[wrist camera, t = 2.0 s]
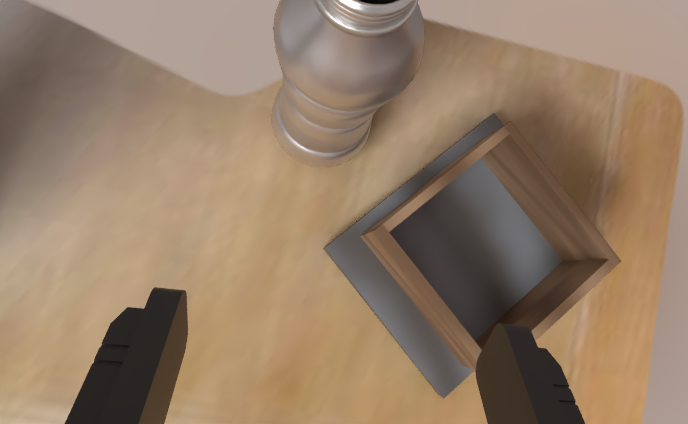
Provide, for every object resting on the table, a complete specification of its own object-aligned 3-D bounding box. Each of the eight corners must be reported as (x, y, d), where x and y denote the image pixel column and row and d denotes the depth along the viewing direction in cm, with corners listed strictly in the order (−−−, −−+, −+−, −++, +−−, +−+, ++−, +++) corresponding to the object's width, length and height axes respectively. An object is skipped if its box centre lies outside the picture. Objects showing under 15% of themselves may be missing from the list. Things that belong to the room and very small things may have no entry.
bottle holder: (438, 394, 34) (473, 420, 28) (323, 248, 35) (333, 243, 28) (593, 252, 37) (655, 248, 31) (487, 118, 37) (528, 88, 31)
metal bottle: (293, 72, 36) (315, -170, 16) (377, 110, 36) (498, -78, 17) (256, 151, 35) (232, -6, 15) (344, 189, 35) (431, 87, 16)
